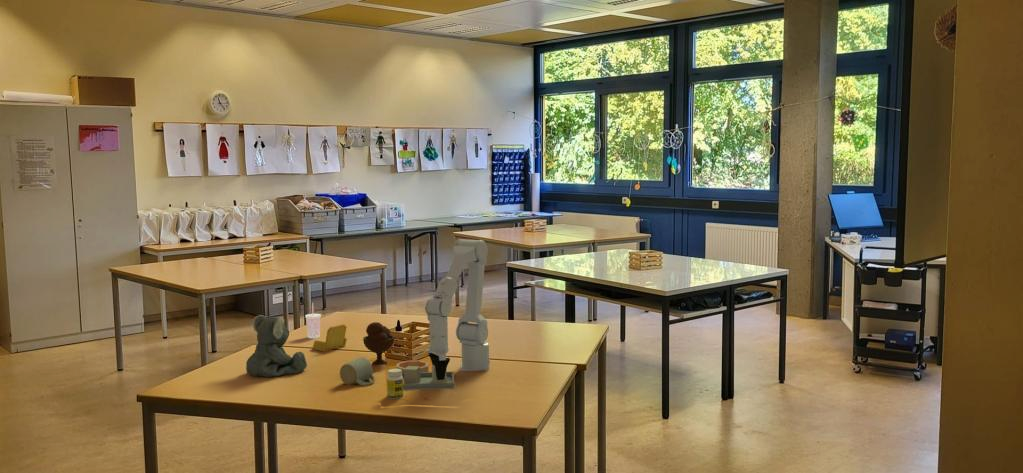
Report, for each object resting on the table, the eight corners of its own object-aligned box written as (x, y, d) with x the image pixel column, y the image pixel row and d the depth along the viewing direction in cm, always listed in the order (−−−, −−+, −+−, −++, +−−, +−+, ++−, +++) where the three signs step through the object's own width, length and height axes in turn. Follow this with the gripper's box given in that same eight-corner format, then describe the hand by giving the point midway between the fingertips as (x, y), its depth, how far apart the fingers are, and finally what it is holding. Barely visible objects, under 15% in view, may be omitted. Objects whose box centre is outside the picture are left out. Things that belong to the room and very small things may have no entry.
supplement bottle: (396, 401, 231) (395, 373, 230) (383, 398, 234) (383, 371, 233) (406, 396, 235) (406, 369, 234) (394, 394, 238) (393, 367, 237)
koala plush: (310, 371, 264) (308, 314, 262) (261, 382, 251) (259, 322, 249) (283, 362, 276) (281, 307, 274) (235, 373, 263) (232, 315, 261)
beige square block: (420, 381, 249) (420, 366, 249) (416, 385, 245) (416, 369, 245) (408, 381, 250) (407, 365, 249) (404, 384, 246) (403, 369, 245)
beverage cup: (303, 338, 312) (302, 303, 311) (309, 335, 318) (308, 301, 317) (317, 339, 311) (316, 304, 310) (324, 335, 317) (322, 301, 316)
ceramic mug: (338, 384, 249) (337, 360, 248) (355, 378, 256) (355, 355, 255) (363, 390, 243) (363, 365, 242) (380, 383, 250) (380, 359, 249)
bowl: (429, 368, 266) (428, 360, 266) (428, 377, 256) (428, 368, 255) (397, 369, 265) (397, 361, 265) (395, 378, 255) (395, 369, 254)
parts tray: (453, 375, 258) (453, 369, 258) (454, 390, 241) (454, 384, 241) (401, 376, 257) (401, 371, 257) (397, 392, 240) (397, 386, 240)
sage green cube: (444, 379, 252) (444, 364, 251) (446, 382, 248) (446, 367, 247) (432, 380, 251) (431, 365, 250) (434, 383, 247) (433, 368, 246)
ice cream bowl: (389, 369, 266) (388, 325, 265) (358, 367, 268) (357, 324, 267) (400, 361, 276) (399, 319, 275) (370, 359, 279) (369, 318, 277)
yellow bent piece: (332, 343, 304) (331, 320, 303) (349, 347, 299) (348, 323, 298) (311, 349, 296) (310, 325, 295) (328, 352, 290) (327, 328, 289)
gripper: (422, 331, 254) (423, 372, 255) (429, 341, 240) (430, 384, 241) (444, 329, 255) (444, 370, 257) (452, 339, 242) (452, 382, 243)
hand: (439, 377), depth 249 cm, fingers open, 5 cm apart
